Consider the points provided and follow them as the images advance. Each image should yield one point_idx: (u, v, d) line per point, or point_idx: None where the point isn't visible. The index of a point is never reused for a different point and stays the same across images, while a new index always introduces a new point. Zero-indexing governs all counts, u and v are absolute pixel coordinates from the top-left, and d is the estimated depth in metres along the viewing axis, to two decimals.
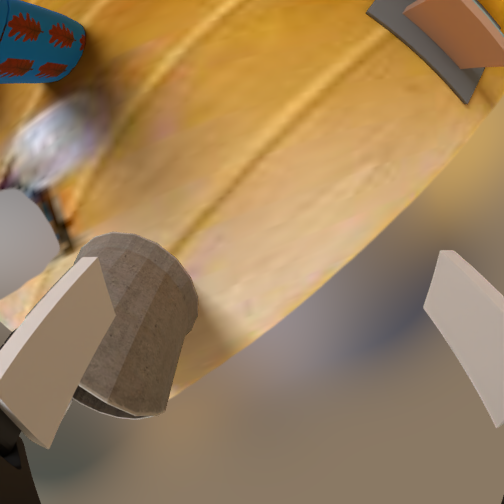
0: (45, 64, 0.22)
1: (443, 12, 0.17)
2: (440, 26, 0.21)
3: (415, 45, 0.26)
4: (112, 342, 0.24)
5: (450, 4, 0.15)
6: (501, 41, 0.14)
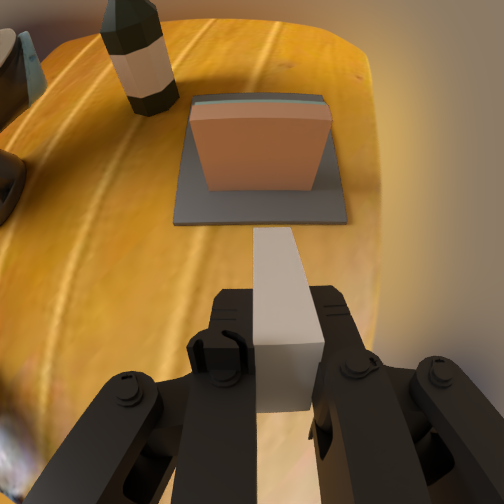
0: None
1: (222, 152, 0.26)
2: (242, 169, 0.29)
3: (242, 216, 0.32)
4: None
5: (213, 135, 0.24)
6: (293, 111, 0.22)
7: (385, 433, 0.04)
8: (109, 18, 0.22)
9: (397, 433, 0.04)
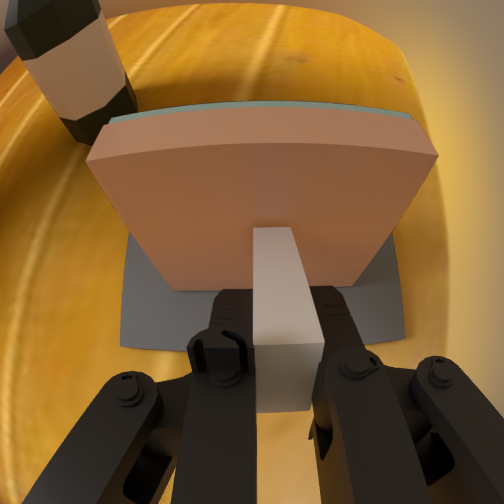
0: None
1: (179, 230, 0.12)
2: (226, 261, 0.15)
3: None
4: None
5: (149, 196, 0.10)
6: (348, 127, 0.08)
7: (385, 433, 0.04)
8: (12, 6, 0.08)
9: (397, 433, 0.04)
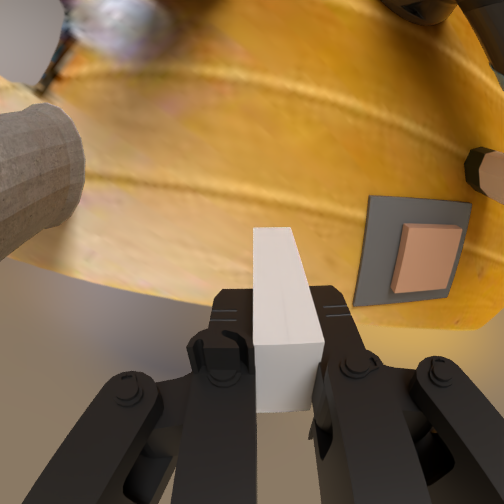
0: None
1: (441, 242, 0.40)
2: (425, 251, 0.41)
3: (368, 245, 0.43)
4: (0, 205, 0.22)
5: (452, 238, 0.40)
6: None
7: (385, 433, 0.04)
8: None
9: (397, 433, 0.04)
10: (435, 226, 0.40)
